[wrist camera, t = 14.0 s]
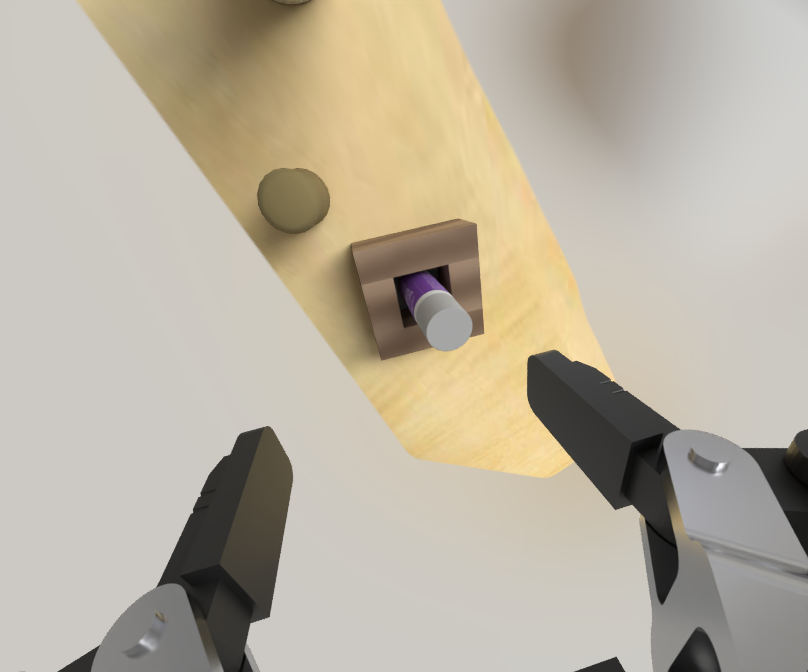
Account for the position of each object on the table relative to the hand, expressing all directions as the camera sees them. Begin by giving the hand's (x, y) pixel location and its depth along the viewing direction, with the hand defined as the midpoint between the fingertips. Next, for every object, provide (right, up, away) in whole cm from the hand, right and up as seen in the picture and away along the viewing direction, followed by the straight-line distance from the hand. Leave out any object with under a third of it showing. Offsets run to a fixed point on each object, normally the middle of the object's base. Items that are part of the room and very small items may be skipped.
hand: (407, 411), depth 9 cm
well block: (+1, +10, +32) cm, 33 cm away
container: (+1, +10, +32) cm, 33 cm away
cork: (-12, +18, +25) cm, 33 cm away
